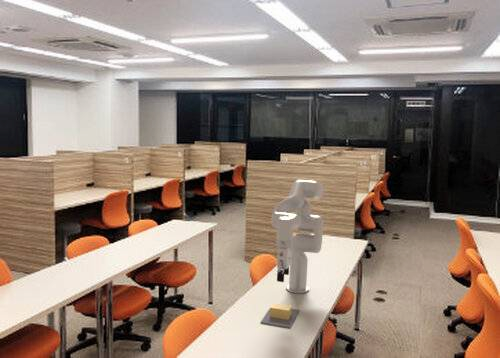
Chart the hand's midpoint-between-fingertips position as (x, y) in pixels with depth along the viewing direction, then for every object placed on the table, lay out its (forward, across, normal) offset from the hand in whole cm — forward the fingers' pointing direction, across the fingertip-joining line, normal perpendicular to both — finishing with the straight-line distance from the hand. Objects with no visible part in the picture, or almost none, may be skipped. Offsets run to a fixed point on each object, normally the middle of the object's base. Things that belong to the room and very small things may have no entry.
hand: (282, 277), depth 215 cm
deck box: (+18, -2, 0) cm, 18 cm away
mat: (+19, -2, 0) cm, 19 cm away
